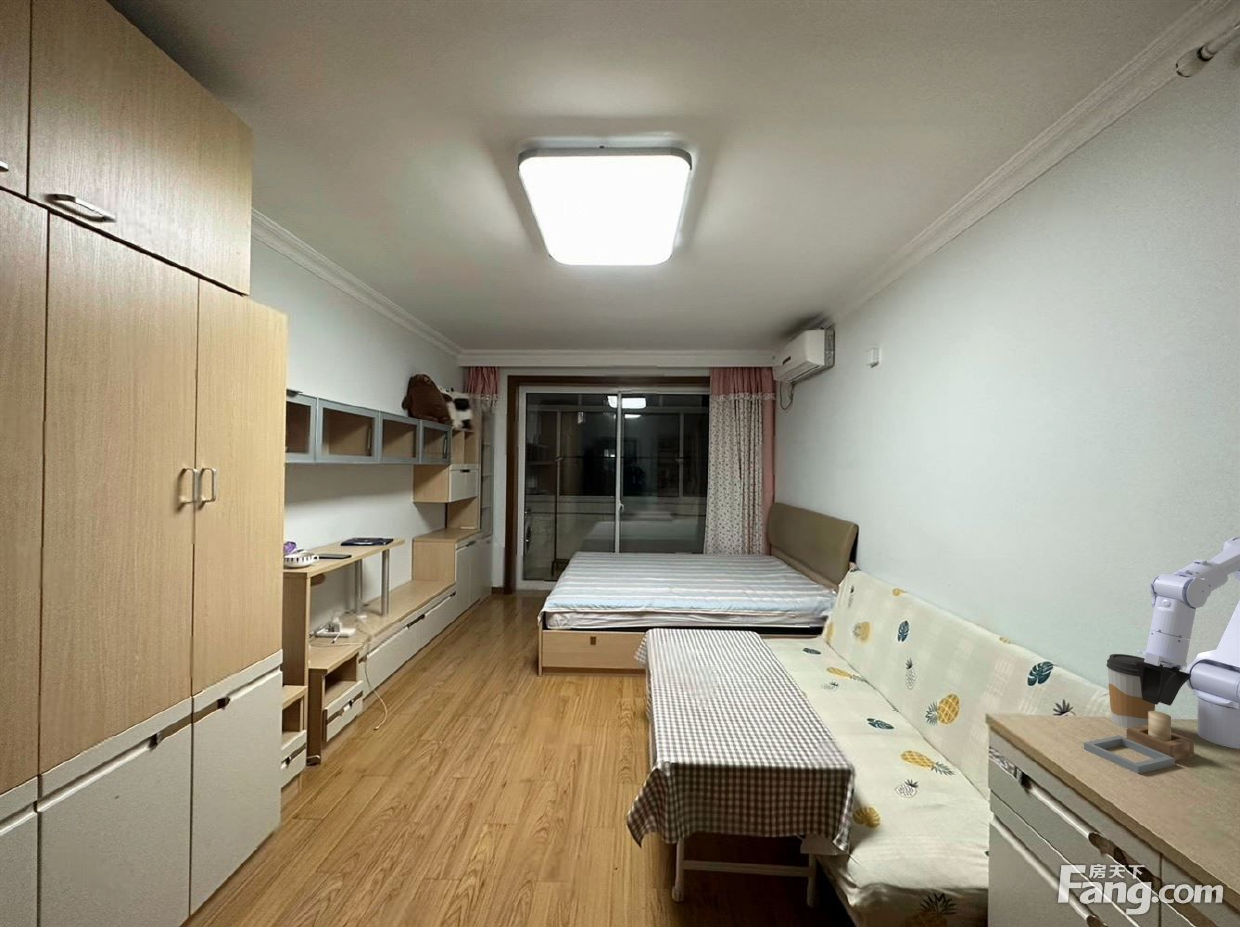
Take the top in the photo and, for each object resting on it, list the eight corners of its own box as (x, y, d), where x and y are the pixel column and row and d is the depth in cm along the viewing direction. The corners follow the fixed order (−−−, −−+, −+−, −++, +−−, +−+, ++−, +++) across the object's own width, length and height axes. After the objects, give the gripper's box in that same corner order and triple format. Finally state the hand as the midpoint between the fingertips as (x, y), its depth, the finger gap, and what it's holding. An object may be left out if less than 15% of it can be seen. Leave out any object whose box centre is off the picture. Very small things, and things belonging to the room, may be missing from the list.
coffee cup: (1169, 740, 115) (1169, 668, 115) (1122, 736, 116) (1123, 665, 116) (1140, 721, 123) (1140, 654, 123) (1097, 718, 124) (1097, 651, 124)
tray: (1119, 746, 112) (1119, 735, 112) (1174, 770, 103) (1174, 758, 103) (1084, 754, 109) (1084, 742, 109) (1138, 779, 100) (1138, 766, 100)
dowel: (1155, 744, 111) (1155, 710, 111) (1175, 752, 108) (1175, 717, 108) (1144, 747, 110) (1144, 712, 110) (1164, 755, 107) (1164, 719, 107)
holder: (1150, 743, 113) (1150, 724, 113) (1193, 761, 106) (1193, 740, 106) (1126, 748, 111) (1126, 729, 111) (1169, 767, 104) (1169, 746, 104)
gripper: (1155, 631, 116) (1142, 695, 115) (1130, 624, 109) (1116, 692, 108) (1202, 643, 110) (1189, 711, 109) (1179, 637, 103) (1165, 709, 102)
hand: (1156, 703), depth 108 cm, fingers open, 7 cm apart
